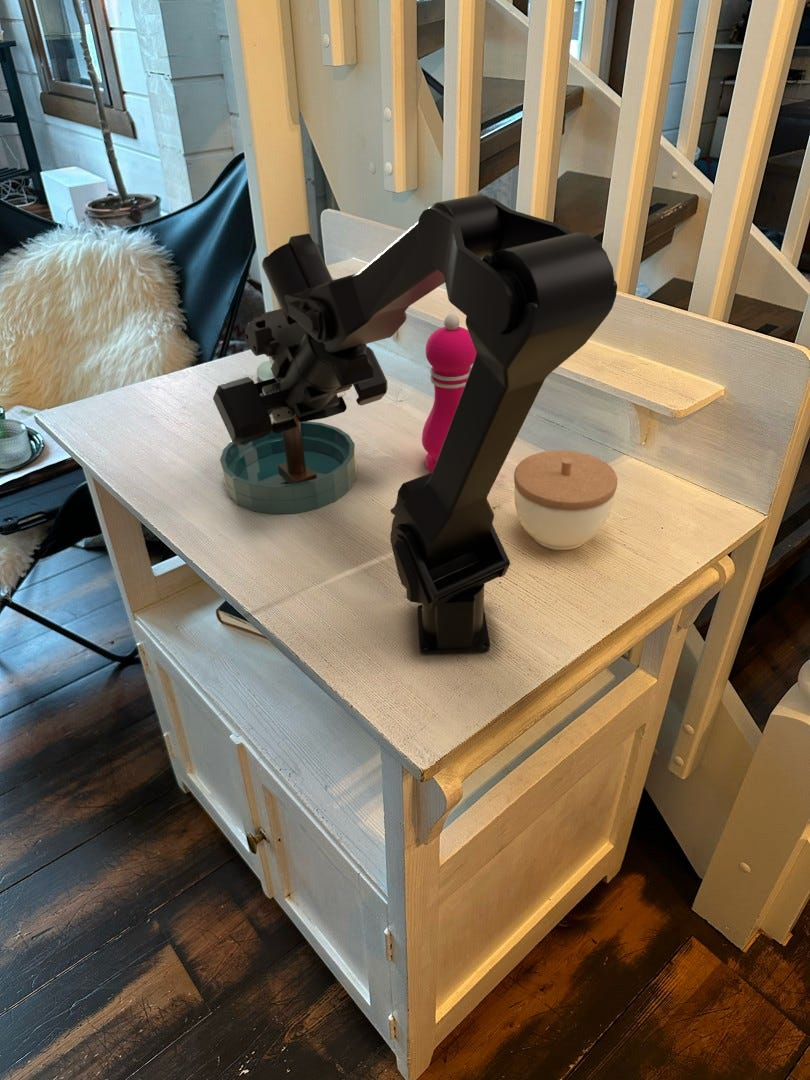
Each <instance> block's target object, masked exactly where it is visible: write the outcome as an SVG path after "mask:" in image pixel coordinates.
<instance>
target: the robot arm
mask: <svg viewBox="0 0 810 1080" xmlns="http://www.w3.org/2000/svg"><path fill="white" fill-rule="evenodd" d="M261 267H262V270H263V271H264V274H265V276H266V278H267V280H268V283H269V285H270V287H271V289H272V292H273V294H274V296H275V298H276V300H277V303H278V305H279V308H278V309H273V310H271V311H267V312H266V311H265V312H264V313H262V314H261V315H260V316H257V317H254V318H253V319H252V321H249V322H248V323H247V325H246V327H245V330H244V341H245V343H246V344H247V346H248V348H249V349H250V351H251V352H252V354H253V355H254V356H256V357H257V356H263V355H265V356H266V357H268V358H269V356H270V357H271V358H272V360H273V361H274V363H273V365H272V367H271V370H272V373H273V375H274V377H275V378H276V379H277V378H280V380H281V381H280V382H277V381H276V379H275V378H272V379H269V380H265V381H262V380H261V381H258V383H254V381H253V380H252V379H253V378H250V376H246V377H242V378H239V379H235V380H231V381H228V382H224V383H221V384H218V385H217V387H216V390H215V392H214V394H213V397H212V400H213V402H214V405H215V407H216V409H217V411H218V413H219V415H220V417H221V420H222V422H223V424H224V426H225V429H226V431H227V433H228V435H229V438H230V440H231V441H232V442H234V443H236V444H238V445H242V444H245V443H248V442H251V441H254V440H257V439H260V438H263V437H264V436H266V435H268V434H270V433H271V432H272V433H274V434H278V433H281V432H284V431H287V430H290V429H293V428H296V427H297V424H296V422H295V420H294V418H293V417H294V416H295V413H296V414H297V416H298V418H300V422H305V421H310V422H312V421H315V420H321V419H326V418H330V417H333V416H336V415H339V414H342V413H345V412H346V411H347V407H348V406H347V403H346V401H345V399H344V397H345V396H346V394H347V392H346V391H348V390H351V389H352V387H353V388H354V390H355V392H356V395H357V396H358V397H357V398H356V399H355V401H356V403H357V405H358V406H365V405H368V404H371V403H374V402H377V401H380V400H382V399H383V398H384V396H385V395H386V394H387V391H388V388H389V387H388V379H387V378H386V375H385V373H384V371H383V369H382V367H381V365H380V363H379V360H378V358H377V356H376V355H375V353H374V350H373V349H371V347H369V346H368V345H367V344H371V343H375V342H378V341H383V340H385V339H390V338H392V337H393V336H394V335H395V334H396V333H397V332H398V331H399V329H400V328H401V327H402V326H403V324H405V323H406V321H407V319H408V318H407V314H406V311H407V310H408V308H409V307H411V306H412V305H413V304H415V303H416V302H418V301H419V300H421V299H423V298H424V297H426V296H427V295H429V294H430V293H431V292H433V291H435V290H436V289H437V288H439V287H440V286H442V285H444V284H445V289H446V294H447V299H448V302H449V303H450V304H451V305H452V306H454V307H455V308H456V309H458V310H459V312H461V313H462V314H463V315H465V316H466V317H465V326H466V329H467V330H468V331H469V334H470V336H471V339H472V342H473V344H474V347H475V350H476V358H475V360H474V363H473V364H472V365H471V367H472V368H471V371H470V374H469V376H468V379H467V382H466V384H465V387H464V390H463V392H462V395H461V398H460V400H459V403H458V406H457V408H456V411H455V414H454V416H453V419H452V422H451V424H450V427H449V430H448V432H447V435H446V438H445V440H444V443H443V446H442V448H441V451H440V454H439V456H438V459H437V462H436V464H435V467H434V470H433V472H429V473H427V474H423V475H421V476H419V477H416V478H414V479H410V480H408V481H406V482H402V484H401V485H400V486H399V489H398V491H397V497H396V501H395V505H394V506H393V507H391V509H390V513H391V514H392V515H393V518H392V520H391V531H390V535H389V536H390V538H389V541H390V545H391V549H392V553H393V557H394V558H393V559H394V561H395V567H396V570H397V574H398V578H399V580H400V584H401V585H402V586H403V587H404V588H405V589H406V599H407V600H408V601H409V602H410V603H417V604H419V605H418V606H417V608H416V609H417V610H416V612H417V627H418V629H417V630H418V631H417V632H418V645H419V646H418V647H419V653H420V654H422V655H444V654H445V655H446V654H469V653H470V654H471V653H472V654H473V653H487V652H489V651H490V650H491V643H490V635H489V629H488V625H487V618H486V612H485V606H484V605H485V585H486V584H487V583H488V582H491V581H493V580H495V579H497V578H503V577H505V575H506V574H507V572H508V570H509V567H510V565H511V561H510V558H509V556H508V555H507V552H506V550H505V548H504V546H503V544H502V542H501V539H500V537H499V535H498V533H497V531H496V529H495V526H494V525H493V522H494V518H495V513H494V510H493V508H492V507H491V505H490V503H489V500H488V496H489V494H490V492H491V490H492V488H493V486H494V484H495V482H496V480H497V478H498V475H499V474H500V472H501V470H502V468H503V465H504V464H505V461H506V460H507V457H508V455H509V453H510V451H511V449H512V447H513V444H514V443H515V441H516V440H517V437H518V435H519V433H520V431H521V429H522V427H523V425H524V423H525V420H526V418H527V417H528V415H529V414H530V412H531V411H530V410H531V409H532V406H533V405H534V403H535V400H536V398H537V396H538V394H539V392H540V390H541V388H542V387H543V385H544V382H545V380H546V379H547V377H548V376H549V375H550V374H551V373H552V372H553V371H555V370H556V369H557V368H559V366H561V365H563V363H565V362H566V361H567V360H568V359H569V358H571V356H573V355H574V354H575V353H577V351H579V350H580V349H581V348H582V347H584V345H586V344H587V342H588V341H589V340H590V339H591V337H592V336H593V335H594V333H596V331H597V330H598V328H599V327H600V326H601V325H602V324H603V322H604V321H605V320H606V318H607V317H608V315H609V314H610V312H611V311H612V309H613V308H614V304H615V301H616V298H617V293H618V283H617V281H616V280H615V274H614V273H615V272H614V268H613V265H612V263H611V261H610V259H609V255H608V254H607V251H606V250H605V249H604V248H603V246H602V245H601V243H600V242H599V241H598V240H596V239H595V238H594V237H592V236H591V235H590V234H587V233H583V232H580V231H579V232H578V231H576V232H573V231H571V230H570V229H568V228H567V227H566V226H563V225H561V224H559V223H557V222H553V221H551V220H546V219H544V218H541V217H536V216H533V215H530V214H526V213H524V212H520V211H516V210H513V209H511V208H509V207H508V206H506V205H505V204H503V203H502V202H500V201H499V200H498V199H496V198H493V197H490V196H487V195H483V194H475V195H470V196H465V197H459V198H453V199H449V200H441V201H438V202H435V203H433V204H430V206H429V207H428V208H426V209H424V210H423V211H422V212H421V214H420V215H419V216H418V221H417V222H415V224H413V225H412V226H411V227H409V228H408V229H407V230H406V231H405V232H403V233H402V234H401V236H399V237H397V239H396V240H394V241H393V242H392V243H391V244H389V246H388V247H387V248H385V249H384V250H383V251H382V252H380V253H379V254H378V255H377V256H376V257H375V258H374V259H373V260H371V261H370V262H369V263H368V264H367V265H365V267H363V268H362V269H361V270H360V271H357V272H355V273H352V274H350V275H347V276H343V277H340V278H336V279H333V277H332V275H331V273H330V271H329V269H328V267H327V263H326V262H325V260H324V258H323V256H322V253H321V251H320V249H319V247H318V244H317V243H316V242H315V241H314V240H313V238H312V235H311V234H310V233H303V234H298V235H293V236H290V237H289V240H288V242H287V243H285V244H282V245H280V246H279V247H277V248H276V249H274V250H273V251H272V252H271V253H270V254H268V256H265V257H264V258H263V260H262V262H261Z"/></svg>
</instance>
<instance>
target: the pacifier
mask: <svg viewBox="0 0 810 1080" xmlns="http://www.w3.org/2000/svg"><path fill="white" fill-rule="evenodd" d="M268 359H269V360H266V361H263V362H261V363H260V364H258V366H257V368H256V376H254V377H253V378H251V379H252V380H253V381H254V383H258V382H260V381H261V382H262V381H265V380H269V379H272V378H275V377H274V375H273V373H272V370H271V367H272V365H273V363H274V361H273V360H272V358H271V357H270V356H269V357H268Z"/></svg>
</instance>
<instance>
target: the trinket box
mask: <svg viewBox="0 0 810 1080" xmlns="http://www.w3.org/2000/svg"><path fill="white" fill-rule="evenodd" d="M513 483H514V487H513V489H514V492H513V493H514V494H513V495H514V507H515V511H516V515H517V518H518V521H519V523H520V524H521V526H522V528H523V529H524V531H525V532H527V534H528V535H529V536H531V537H532V539H533V540H534V541H535V543H537V544H538V545H540V546H542V547H544V548H547V549H551V550H554V551H571V550H574V549H577V548H579V547H581V546H583V545H584V543H587V542H588V541H590V540H591V539H593V538H595V536H596V535H598V534H599V532H600V531H601V530H602V529H603V527H604V526H605V524H606V523H607V521H608V519H609V516H610V514H611V510H612V508H613V504H614V499H615V494H616V491H617V488H618V476H617V473H616V471H615V470H614V469H613V468H612V466H611V465H610V464H608V463H607V462H605V461H604V460H602V459H601V458H599V457H597V456H594V455H591V454H589V453H585V452H581V451H577V450H576V451H575V450H567V449H555V450H545V451H541V452H536V453H534V454H531V455H528V456H527V457H525V458H523V459H522V460H521V461H520V462H519V463H518V464H517V465H516V466H515V468H514V472H513Z"/></svg>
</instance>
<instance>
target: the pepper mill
mask: <svg viewBox="0 0 810 1080" xmlns="http://www.w3.org/2000/svg"><path fill="white" fill-rule="evenodd" d="M460 322H461V321H460V318H459V316H458V315H456V314H454V313H451V314H448V315H446V316H445V318H444V320H443V325H444V326H442V327H440V328H437V329H436V330H434V331H433V332H432V333H431V334H430V335H429V337H428V338H427V341H426V345H425V357H426V360H427V362H428V363H429V365H430V366H431V368H430V370H429V373H430V377H429V380H430V382H431V384H433V388H434V401H433V404H432V407H431V410H430V412H429V415H428V416H427V418H426V420H425V422H424V425H423V428H422V433H421V445H422V447H423V449H424V450H425V452H426V453H427V454H426V456H425V466H426V468H427V470H428V472H430V473H432V472H433V470H434V467H435V464H436V462H437V459H438V456H439V454H440V451H441V448H442V446H443V443H444V440H445V438H446V435H447V432H448V430H449V427H450V424H451V422H452V419H453V416H454V414H455V411H456V408H457V406H458V403H459V400H460V398H461V395H462V392H463V390H464V387H465V384H466V382H467V379H468V376H469V374H470V371H471V368H472V366H473V363H474V360H475V358H476V350H475V347H474V344H473V342H472V339H471V336H470V334H469V331H468V329H467V328H465V327H463V326H460Z"/></svg>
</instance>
